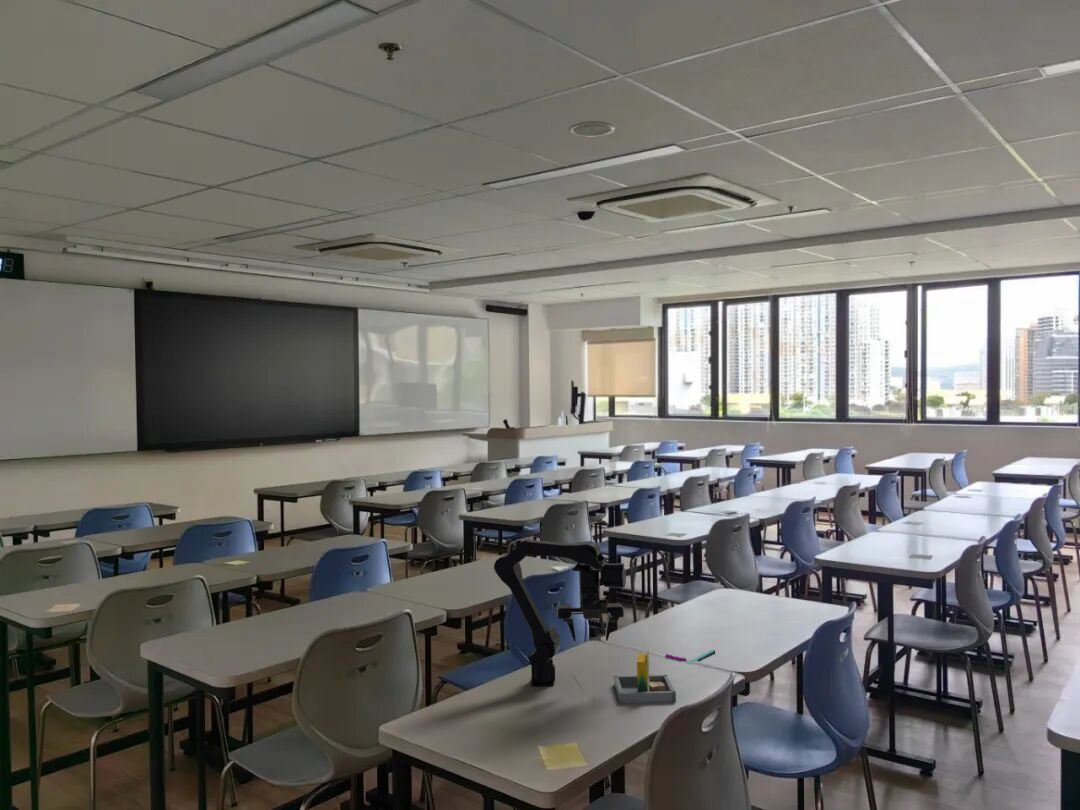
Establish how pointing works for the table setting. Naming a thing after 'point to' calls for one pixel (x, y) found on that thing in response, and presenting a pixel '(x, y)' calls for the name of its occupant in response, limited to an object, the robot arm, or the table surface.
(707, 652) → the bent bar
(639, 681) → the crayon box
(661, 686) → the wood tile
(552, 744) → the table surface
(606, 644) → the table surface
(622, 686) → the tray
